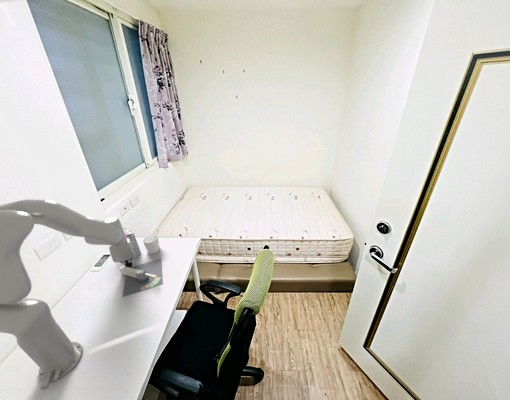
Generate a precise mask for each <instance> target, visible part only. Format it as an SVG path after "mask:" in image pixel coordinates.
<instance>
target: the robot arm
mask: <svg viewBox="0 0 510 400" xmlns="http://www.w3.org/2000/svg"><path fill="white" fill-rule="evenodd" d="M35 225H40V226H44V227H47V228H49V229H52V230H55V231H57V232H60V233H63V234H64V235H65V234H66V235H68V236H72V237H78V238H83V239H84V241H85V242H86V243H87V244H88V245H92V246H93V245H94V246H97V245H98V246H108V249H109V254H110V257H111V259H112V261H113V263H121V264H123V265H125V267H129V268H132V267H133V266H134V265H133V262H132V260H134V259H135V258H137V257H138V256H137V253H136V251H135V248H134V246H133V244H132V243H131V241H130V240H129V239H128V238H127V237H126V235H125V232H124V230H123V228H124V227H123V226H122V223H121V220H120V218H119V217H116V216H110V217H107V218H105V219H103V220H100V219H96V218H94V217H90V216H87V215H84V214H81V213H79V212H78V211H76V210H73V209H71V208H69V207H68V206H66V205H63V204H62V203H59V202H58V201H55V200H52V199H22V200H17V201H11V202H8V203H4V204H0V333H1V334H2V333H4V334H10V335H13V336H14V337H15V338H16V343H17V345H18V347H19V348H20V349H21V350H22V351H23V352H24V353H25V354H26V355H27V356H28V357H29V358H30V359H31V360H32V361H33V362H34V363H35V364H36V365H37V366H38V367H39V369H38V377H39V378H40V380H42V384H41V387H40V390H43V391H44V390H47V389H49V385H50V384H51V382H57V381H58V380H60V379H61V378H63V377H64V376H66V375H68V374H69V372H71V371H72V370H73V369H74V368H75V367H76V366H77V364H78V363H79V361H80V360H81V358H82V356H83V351H84V350H83V346H82V344H81V343H79V342H77V341H76V342H75V341H71V340H70V339H69V337H68V336H67V334H66V333H65V331H64V330H63V329H62V328H61V327H60V325H59V323H57V321H56V319H55V318H54V317H53V315H52V312H51V309H50V308H51V307H50V306H49V304H48V303H47V302H46V301H44V300H41V299H36V298H27V297H28V296H29V295H30V292H31V291H32V287H33V286H32V281H31V278H30V275H29V273H28V271H27V269H26V267H25V265H24V262H23V259H22V257H21V248H22V245H23V243H24V241H25V240H26V239H27V238H28V236H29V235H30V234H31V233H32V231H33V229H34V227H35Z"/></svg>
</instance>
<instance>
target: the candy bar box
mask: <svg viewBox="0 0 510 400" xmlns="http://www.w3.org/2000/svg"><path fill="white" fill-rule="evenodd" d="M123 230H124V232H125V235H126V237H127V238H128V239H129V240H130V241H131V243H132V244H133V246H134V248H135V251H136V253H137V257H138V256H139V255H141V254H142V252H141V249H140V246H139V244H138V241H137V238H136V236H135V232H133V231H131V230H129V229H127V228H125V227H123Z"/></svg>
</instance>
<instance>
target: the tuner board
mask: <svg viewBox="0 0 510 400" xmlns="http://www.w3.org/2000/svg"><path fill="white" fill-rule="evenodd" d="M162 263H163V261H162V258H159V259H155V260H152V261H147V262H144V263H140V264H137V265H133V266H132V268H133V269H137V270H141V269H146V270H147V273H148V274H151V275H157V277H156V278H153V277H150V276H149V278H148V279H147V280H146V281H144V282H139V281H138V279H137V278H135V277H131V276H127V275H124V283H123V284H124V285H123V291H122V298H124V297H129V296H130V295H134V294H138V293H141V292H144V291H146V290H149V289H153V288H155V287H159V286H162V285H164V282H163V281H164V280H163V279H164V278H163V264H162Z"/></svg>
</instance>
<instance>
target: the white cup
mask: <svg viewBox="0 0 510 400" xmlns="http://www.w3.org/2000/svg"><path fill="white" fill-rule="evenodd" d="M142 242H143V244H144V247H145V250H146V251H147V253H148V254H149V255H153V254H156V253H157V252H159V251H160V249H161V247H160V242H159V238H158V235H157V234H155V233H152V234H148V235H146V236H144V237H143V238H142Z"/></svg>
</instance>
